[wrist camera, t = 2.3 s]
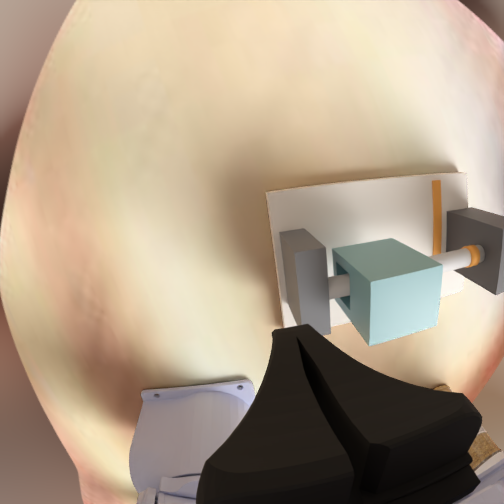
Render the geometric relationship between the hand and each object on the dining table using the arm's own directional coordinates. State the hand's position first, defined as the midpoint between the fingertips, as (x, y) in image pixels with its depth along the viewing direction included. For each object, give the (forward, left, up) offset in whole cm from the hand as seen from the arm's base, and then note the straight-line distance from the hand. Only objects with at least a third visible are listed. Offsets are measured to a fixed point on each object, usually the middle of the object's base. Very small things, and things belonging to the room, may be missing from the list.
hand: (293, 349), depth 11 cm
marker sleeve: (+6, 0, -7) cm, 9 cm away
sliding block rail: (+9, 0, -10) cm, 14 cm away
